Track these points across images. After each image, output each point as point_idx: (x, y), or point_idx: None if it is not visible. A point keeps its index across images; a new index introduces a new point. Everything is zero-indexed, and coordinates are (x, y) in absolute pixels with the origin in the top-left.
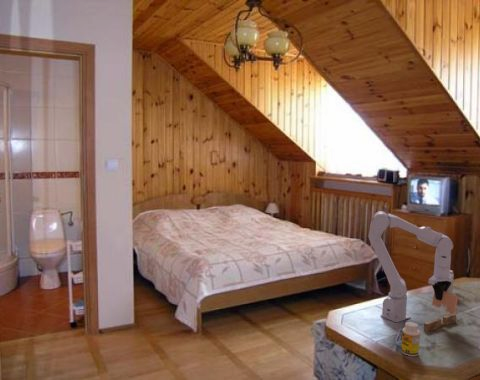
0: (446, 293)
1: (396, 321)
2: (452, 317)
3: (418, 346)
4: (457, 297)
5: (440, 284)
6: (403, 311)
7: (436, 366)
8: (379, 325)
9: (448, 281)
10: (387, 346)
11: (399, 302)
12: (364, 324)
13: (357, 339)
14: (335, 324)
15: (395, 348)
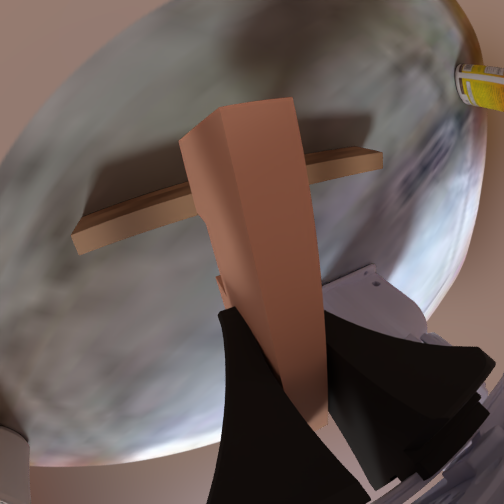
0: (317, 309)
1: (374, 265)
2: (116, 213)
3: (479, 65)
4: (244, 105)
5: (471, 397)
6: (358, 303)
7: (451, 15)
8: (416, 253)
9: (2, 471)
10: (470, 137)
11: (404, 324)
12: (429, 266)
13: (477, 195)
14: (453, 275)
15: (467, 119)
